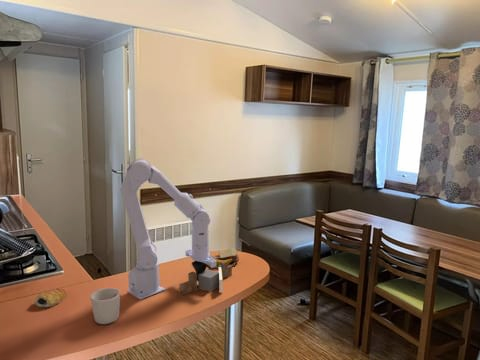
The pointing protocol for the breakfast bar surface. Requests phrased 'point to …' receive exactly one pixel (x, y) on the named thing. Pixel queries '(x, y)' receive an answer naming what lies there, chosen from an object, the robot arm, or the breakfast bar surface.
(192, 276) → the stepped wooden block
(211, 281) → the grey cube
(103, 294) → the cup
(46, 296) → the pastry
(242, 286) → the breakfast bar surface
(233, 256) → the toy sandwich meal
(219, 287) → the door
